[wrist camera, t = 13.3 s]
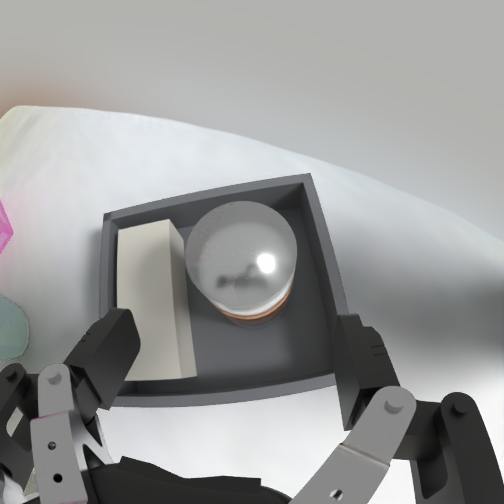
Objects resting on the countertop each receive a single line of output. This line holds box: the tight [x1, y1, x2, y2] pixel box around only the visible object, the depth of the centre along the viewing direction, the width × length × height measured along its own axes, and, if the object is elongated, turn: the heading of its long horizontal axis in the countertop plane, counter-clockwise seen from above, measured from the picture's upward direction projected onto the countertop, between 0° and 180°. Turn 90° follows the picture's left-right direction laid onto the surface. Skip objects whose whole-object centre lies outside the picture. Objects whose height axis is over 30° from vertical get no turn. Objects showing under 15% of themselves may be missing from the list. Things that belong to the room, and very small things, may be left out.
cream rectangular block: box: [117, 219, 197, 381], centre depth 22 cm, size 5×12×4 cm, turn 9°
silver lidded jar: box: [185, 201, 297, 330], centre depth 19 cm, size 6×6×10 cm
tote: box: [99, 173, 349, 407], centre depth 22 cm, size 18×16×5 cm
